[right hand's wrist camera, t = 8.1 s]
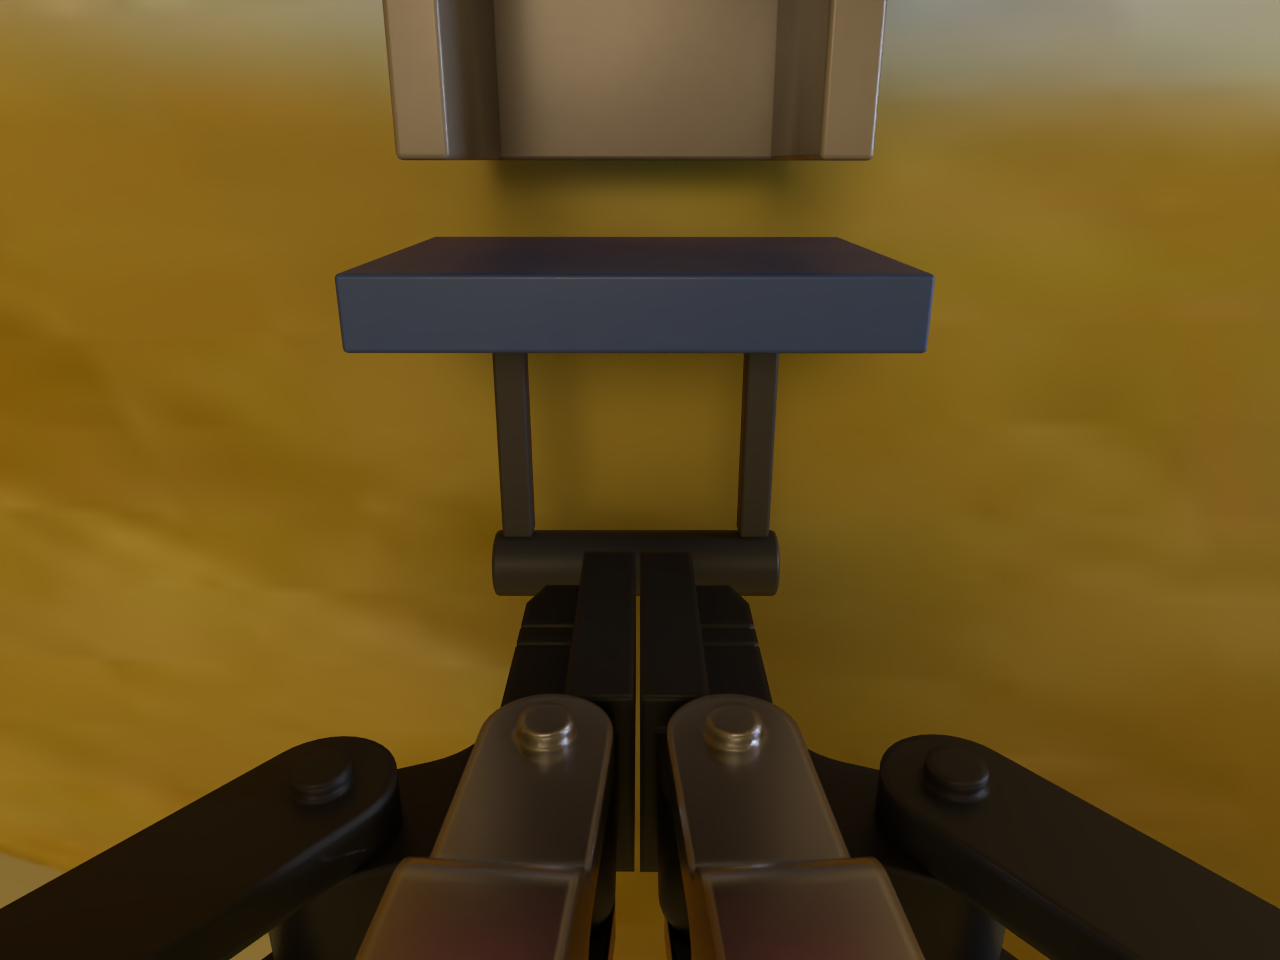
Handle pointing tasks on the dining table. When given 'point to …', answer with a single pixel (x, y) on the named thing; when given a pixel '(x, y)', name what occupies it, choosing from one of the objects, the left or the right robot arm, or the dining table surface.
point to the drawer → (634, 266)
